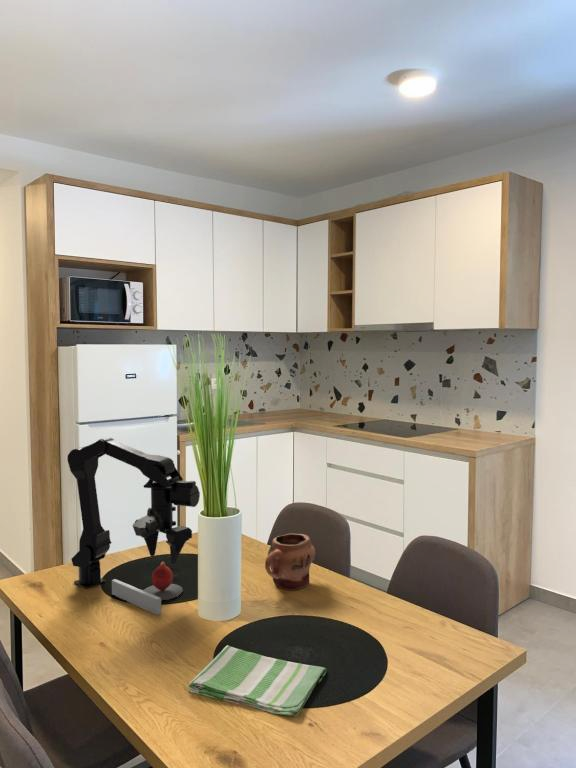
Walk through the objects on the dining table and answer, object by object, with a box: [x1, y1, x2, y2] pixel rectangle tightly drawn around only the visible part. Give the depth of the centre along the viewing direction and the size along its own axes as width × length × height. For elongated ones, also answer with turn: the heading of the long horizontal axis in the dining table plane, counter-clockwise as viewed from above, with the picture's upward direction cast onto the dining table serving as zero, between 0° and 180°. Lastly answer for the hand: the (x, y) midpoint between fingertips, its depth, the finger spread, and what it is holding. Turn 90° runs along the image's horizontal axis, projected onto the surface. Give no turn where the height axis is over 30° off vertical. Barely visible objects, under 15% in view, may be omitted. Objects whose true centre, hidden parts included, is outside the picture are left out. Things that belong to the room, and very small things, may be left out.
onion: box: [151, 561, 174, 591], centre depth 168 cm, size 6×6×8 cm
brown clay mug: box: [264, 533, 316, 591], centre depth 172 cm, size 20×12×14 cm, turn 147°
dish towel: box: [187, 644, 327, 717], centre depth 123 cm, size 18×23×3 cm
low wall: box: [111, 578, 162, 616], centre depth 161 cm, size 20×1×4 cm, turn 50°
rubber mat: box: [142, 583, 184, 602], centre depth 168 cm, size 11×11×1 cm
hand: (162, 559), depth 168 cm, fingers open, 9 cm apart
